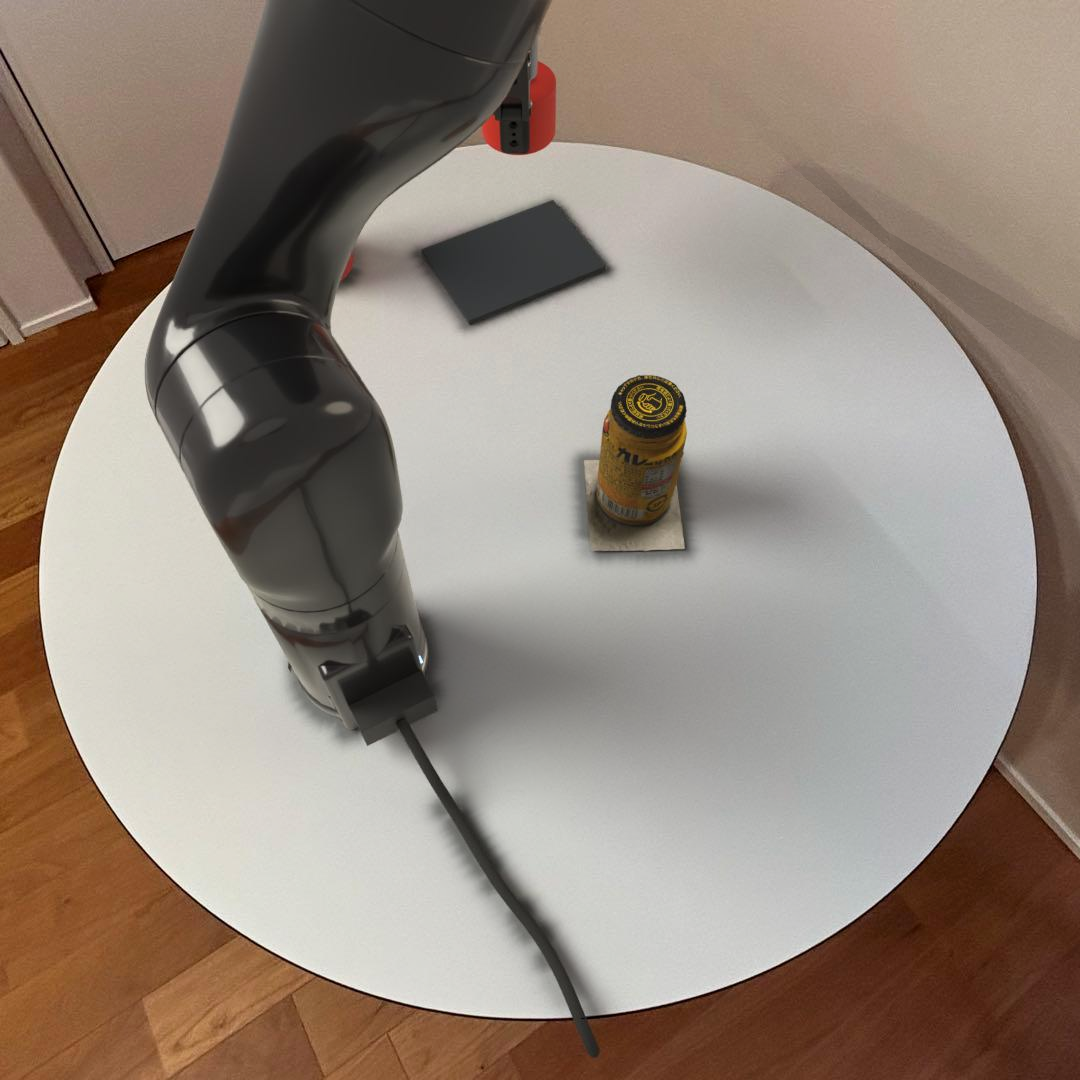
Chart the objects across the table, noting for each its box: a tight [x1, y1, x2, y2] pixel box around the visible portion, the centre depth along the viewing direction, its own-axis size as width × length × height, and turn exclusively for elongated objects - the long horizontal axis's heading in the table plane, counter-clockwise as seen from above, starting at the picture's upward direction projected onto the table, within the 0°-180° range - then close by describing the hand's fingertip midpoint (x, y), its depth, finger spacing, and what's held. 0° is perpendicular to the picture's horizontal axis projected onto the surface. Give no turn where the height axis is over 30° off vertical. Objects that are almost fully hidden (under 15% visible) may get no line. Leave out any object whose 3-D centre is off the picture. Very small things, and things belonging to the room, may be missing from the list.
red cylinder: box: [481, 60, 557, 156], centre depth 75 cm, size 6×6×5 cm
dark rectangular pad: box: [420, 199, 606, 326], centre depth 90 cm, size 10×14×1 cm
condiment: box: [583, 374, 688, 552], centre depth 72 cm, size 7×8×12 cm
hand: (517, 122), depth 77 cm, fingers closed on red cylinder, 6 cm apart
